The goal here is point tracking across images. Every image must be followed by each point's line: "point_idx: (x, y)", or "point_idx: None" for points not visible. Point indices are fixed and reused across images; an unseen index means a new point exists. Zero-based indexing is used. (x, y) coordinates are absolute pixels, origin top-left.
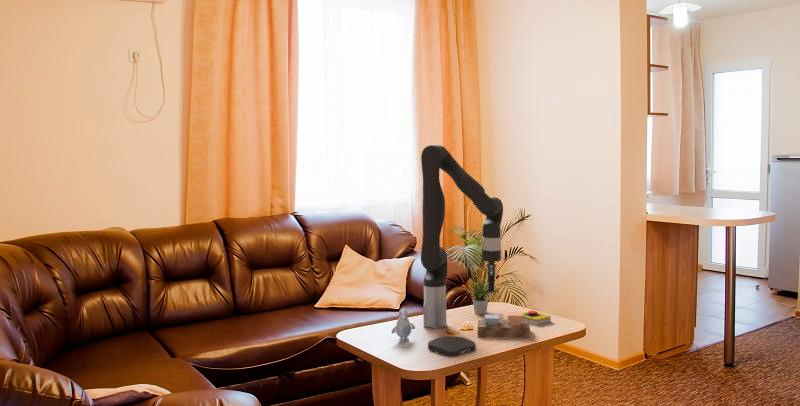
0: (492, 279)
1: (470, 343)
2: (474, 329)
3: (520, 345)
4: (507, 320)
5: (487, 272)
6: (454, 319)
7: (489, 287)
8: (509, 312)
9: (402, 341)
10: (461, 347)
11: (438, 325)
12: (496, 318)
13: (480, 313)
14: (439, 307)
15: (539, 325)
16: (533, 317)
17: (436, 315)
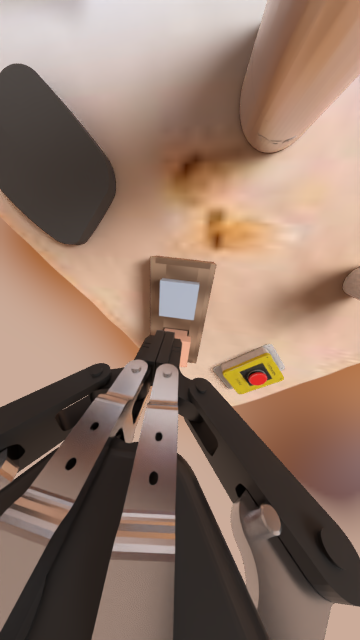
0: (91, 401)
1: (61, 231)
2: (213, 251)
3: (117, 326)
4: (201, 330)
5: (61, 450)
6: (329, 188)
7: (152, 345)
8: (183, 345)
9: None
10: (20, 203)
11: (242, 106)
12: (160, 310)
13: (347, 279)
14: (279, 13)
15: (220, 369)
16: (236, 373)
17: (258, 44)
